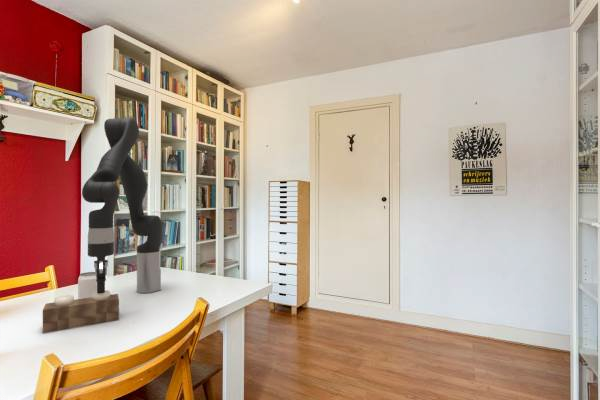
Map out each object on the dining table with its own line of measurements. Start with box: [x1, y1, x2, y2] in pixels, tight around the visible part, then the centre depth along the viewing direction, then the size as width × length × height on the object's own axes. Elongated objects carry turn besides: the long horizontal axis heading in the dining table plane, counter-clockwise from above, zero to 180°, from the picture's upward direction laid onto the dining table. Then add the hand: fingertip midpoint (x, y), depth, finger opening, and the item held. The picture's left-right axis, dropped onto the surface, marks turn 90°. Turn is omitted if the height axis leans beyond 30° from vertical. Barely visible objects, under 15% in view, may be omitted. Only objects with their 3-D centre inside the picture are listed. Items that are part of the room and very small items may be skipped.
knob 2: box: [92, 290, 111, 301], centre depth 107 cm, size 5×5×8 cm
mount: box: [42, 293, 120, 334], centre depth 104 cm, size 20×7×7 cm, turn 122°
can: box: [77, 271, 97, 299], centre depth 122 cm, size 6×6×12 cm
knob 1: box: [53, 294, 75, 306], centre depth 102 cm, size 5×5×8 cm
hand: (100, 292), depth 107 cm, fingers closed
